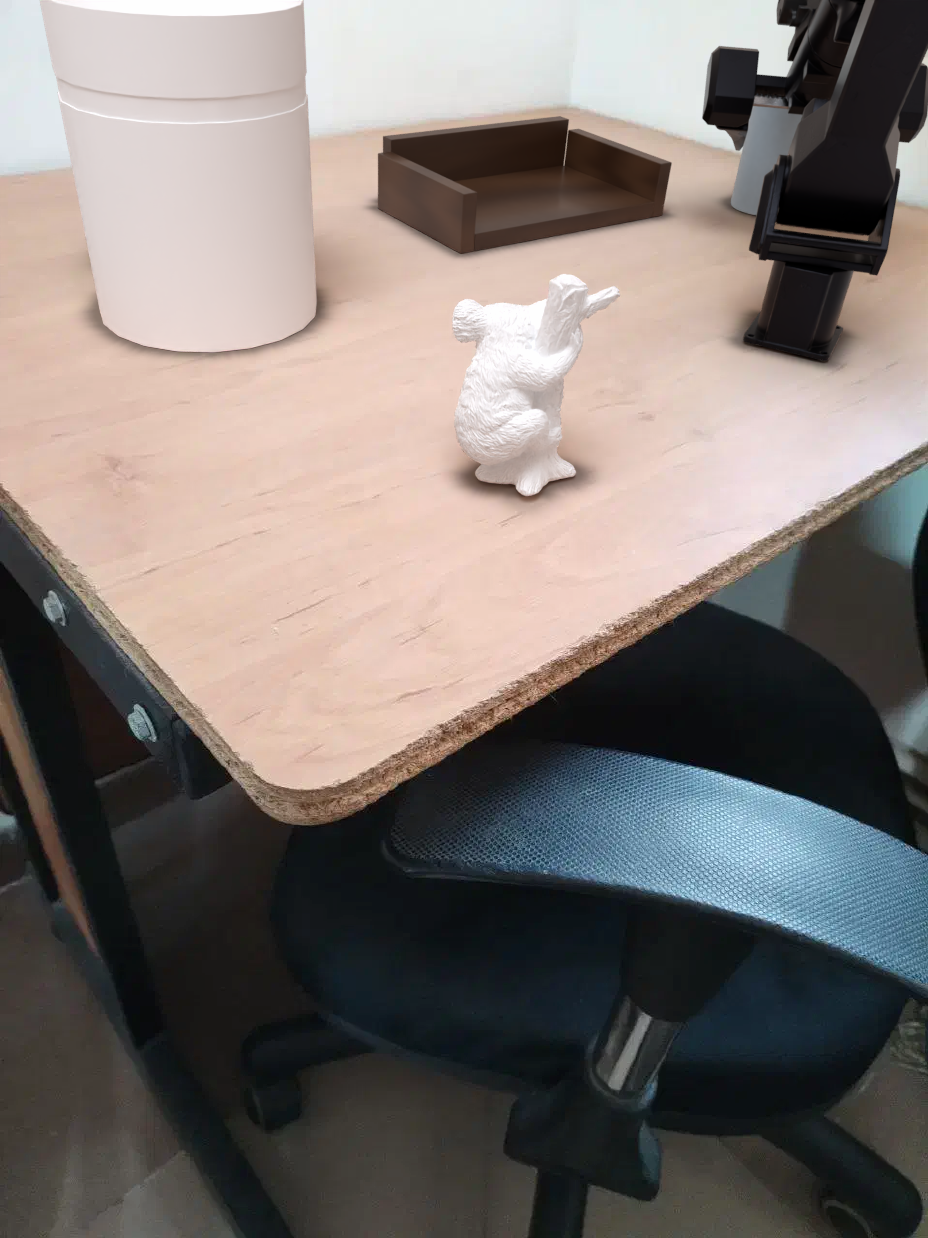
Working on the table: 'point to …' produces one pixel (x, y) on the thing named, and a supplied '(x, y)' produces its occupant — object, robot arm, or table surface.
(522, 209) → the tray
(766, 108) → the pale blue cylinder
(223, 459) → the table surface
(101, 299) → the canister
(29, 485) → the table surface
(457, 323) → the koala figurine
